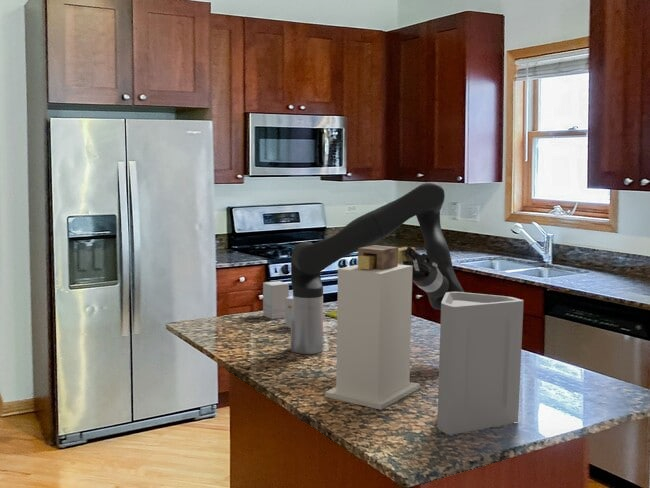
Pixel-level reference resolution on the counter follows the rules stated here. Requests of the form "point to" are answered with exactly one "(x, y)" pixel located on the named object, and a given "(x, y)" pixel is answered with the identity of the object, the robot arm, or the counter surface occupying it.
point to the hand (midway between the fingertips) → (400, 249)
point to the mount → (374, 331)
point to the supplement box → (274, 299)
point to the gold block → (371, 259)
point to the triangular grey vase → (479, 361)
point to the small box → (288, 311)
